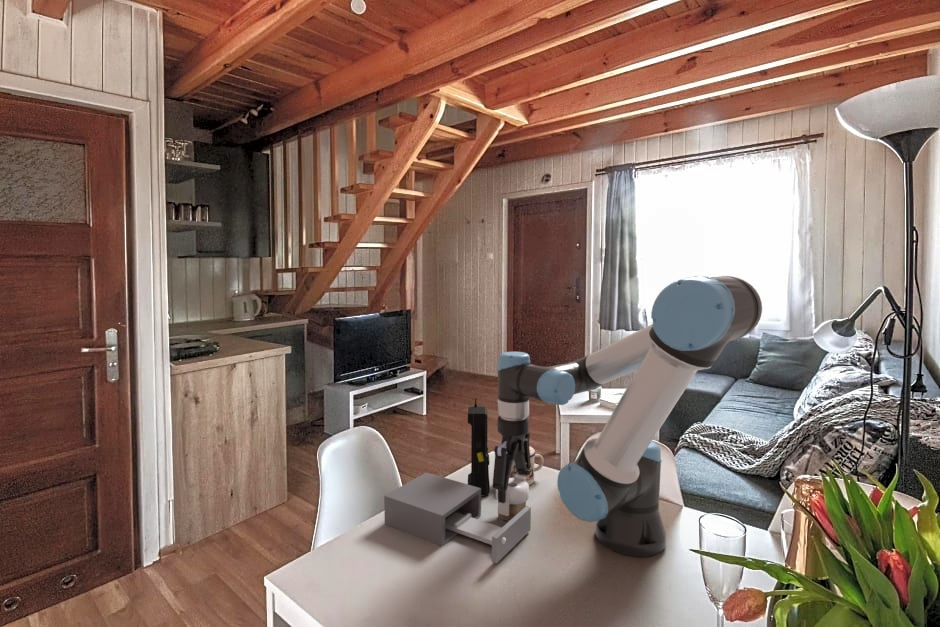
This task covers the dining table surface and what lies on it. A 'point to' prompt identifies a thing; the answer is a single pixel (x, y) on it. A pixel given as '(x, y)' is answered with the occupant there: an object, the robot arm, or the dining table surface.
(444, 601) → the dining table surface
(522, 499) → the white domed disc
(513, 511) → the brown block
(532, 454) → the teacup with lid
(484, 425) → the portable radio
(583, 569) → the dining table surface
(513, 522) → the pull-out drawer
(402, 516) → the gray drawer box
